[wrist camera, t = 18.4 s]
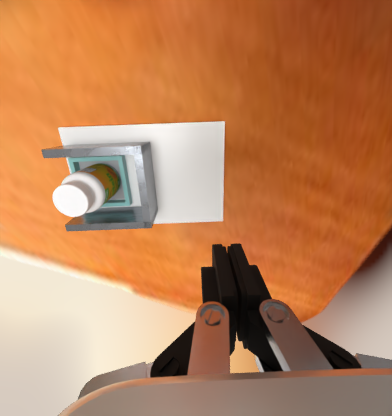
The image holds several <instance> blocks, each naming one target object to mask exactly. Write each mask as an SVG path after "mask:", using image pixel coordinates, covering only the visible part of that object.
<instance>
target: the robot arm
mask: <svg viewBox="0 0 392 416" xmlns="http://www.w3.org/2000/svg"><path fill="white" fill-rule="evenodd" d="M201 277H202V298H203V304H202V305H201V306H200V307H199V308H198V311H197V314H196V321H195V322H194V323H193V324H192V325H191V326H190V327H189V328H188V329H186V330H185V331H184V333H182V334H181V335H180V336H179V337H178V338H177V339H176V340H175V341H174V342H173V343H172V344H171V345H170V346H168V347H167V348H166V349H165V350H164V351H163V352H162V353H161V354H160V355H159V356H158V357H157V359H155V361H154V362H152V363H148V364H146V363H145V362H142V363H139V364H135V365H132V366H129V367H125V368H122V369H119V370H115V371H112V372H108V373H105V374H101V375H98V376H96V377H94V378H92V379H91V380H90V381H89V382H87V383H86V385H85V386H84V388H83V389H82V390H81V392H80V395H79V397H78V400H77V401H76V402H74V403H72V404H71V405H70V406H68V407H67V408H66V409H65V410H63V411H62V412H61V413H60V414H59V415H58V416H392V360H390V359H385V358H379V357H374V356H368V355H363V354H358V353H356V355H355V356H353V355H351V354H350V353H349V352H348V351H346V350H345V349H343V348H341V347H339V346H338V345H336V344H335V343H333V342H331V341H329V340H327V339H326V338H324V337H322V336H321V335H319V334H317V333H315V332H314V331H312V330H310V329H309V328H307V327H305V326H304V325H302V324H301V323H300V321H299V320H298V318H297V317H296V316H295V314H294V313H293V311H292V310H291V309H290V308H289V306H288V305H286V304H285V303H283V302H281V301H279V300H275V299H272V298H271V296H270V294H269V291H268V289H267V287H266V285H265V283H264V280H263V278H262V276H261V274H260V271H259V269H258V267H257V266H256V265H249V263H248V261H247V258H246V256H245V253H244V251H243V248H242V246H241V244H231V246H228V249H227V251H226V247H222V244H215V245H212V267H201ZM236 332H237V337H238V340H239V341H242V342H243V347H244V349H248V350H249V351H251V352H252V353H253V354H254V358H255V361H256V364H257V366H258V369H259V371H260V372H255V373H230V355H231V354H232V352H233V351H234V349H235V341H236Z"/></svg>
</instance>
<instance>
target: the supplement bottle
mask: <svg viewBox="0 0 392 416" xmlns="http://www.w3.org/2000/svg"><path fill="white" fill-rule="evenodd" d="M120 185H121V180H120V176H119V174H118V173H117V171H116V170H115V169H114V168H113V167H111V166H110V165H107V164H103V163H97V164H94V165H91V166H89V167H86V168H84V169H82V170H79V171H77V172H74V173H72V174H70V175H68V176H67V177H66V178H65V179H64V180H63V181H62V184H61V186H59V187H57V188H56V189H55V191H54V193H53V202H54V205H55V206H56V208H57V209H58V210H59V211H60V212H61V213H63V214H65V215H67V216H71V217H78V216H81V215H83V214H84V213H90V212H93V211H96V210H97V209H99V208H100V207H101V206H102V205H103V204H105V203H106V202H107V201H108V200H109V199H110V198H111V197H112V196H113V195H115V194H116V193H117V191H118V190H119V188H120Z"/></svg>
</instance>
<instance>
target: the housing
mask: <svg viewBox="0 0 392 416" xmlns="http://www.w3.org/2000/svg"><path fill="white" fill-rule="evenodd" d="M42 154H43V157H44V158H60V157H86V156H112V155H134V160H135V167H136V174H137V181H138V187H139V194H140V201H141V206H136V207H110V208H99V209H97V210H96V211H93V212H90V213H84V214H83V215H81V216H78V217H74V218H73V219H72V220H71V221H69V222H68V223H67V224H66V225H65V227H66V230H67V231H87V230H112V229H138V228H152V226H153V223H154V221H155V218H156V215H157V213H158V206H157V197H156V188H155V180H154V171H153V162H152V154H151V145H150V142H129V143H103V144H77V145H65V146H59V147H54V148H48V149H42Z"/></svg>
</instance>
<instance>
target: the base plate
mask: <svg viewBox="0 0 392 416" xmlns="http://www.w3.org/2000/svg"><path fill="white" fill-rule="evenodd" d="M58 130H59V133H60V137H61V141H62V144H63V146H65V145H77V144H103V143H129V142H150V145H151V154H152V162H153V171H154V180H155V188H156V197H157V206H158V213H157V215H156V218H155V221H154V223H153V224H162V223H188V222H214V221H223V195H224V137H225V121H218V122H192V123H165V124H139V125H113V126H87V127H61V128H58ZM66 159H67V163H68V166H69V170H70V174H72V173H74V172H77V171H79V170H82V169H84V168H86V167H89V166H91V165H94V164H97V163H103V164H107V165H110V166H111V167H113V168H114V169H115V170H116V171H117V173H118V174H119V176H120V180H121V185H120V188H119V190H118V191H117V193H116V194H115V195H113V196H112V197H111V198H110V199H109V200H108V201H107V202H106V203H105V204H103V205H102V206H101V207H100V208H110V207H136V206H141V201H140V194H139V187H138V181H137V174H136V167H135V160H134V155H112V156H86V157H66Z"/></svg>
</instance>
